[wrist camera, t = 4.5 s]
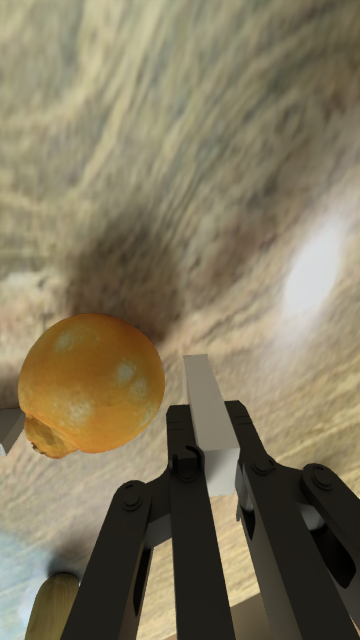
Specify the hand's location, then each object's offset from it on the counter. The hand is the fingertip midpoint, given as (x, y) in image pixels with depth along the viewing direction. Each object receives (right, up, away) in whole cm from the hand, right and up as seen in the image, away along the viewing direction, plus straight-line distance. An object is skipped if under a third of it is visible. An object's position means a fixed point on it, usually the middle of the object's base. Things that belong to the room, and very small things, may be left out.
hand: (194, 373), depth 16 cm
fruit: (-6, +1, +4) cm, 8 cm away
